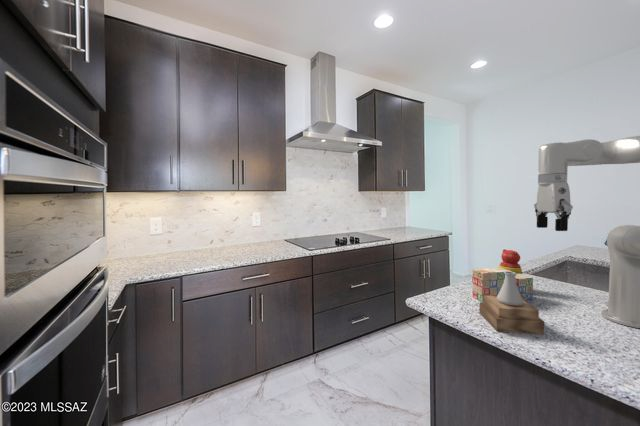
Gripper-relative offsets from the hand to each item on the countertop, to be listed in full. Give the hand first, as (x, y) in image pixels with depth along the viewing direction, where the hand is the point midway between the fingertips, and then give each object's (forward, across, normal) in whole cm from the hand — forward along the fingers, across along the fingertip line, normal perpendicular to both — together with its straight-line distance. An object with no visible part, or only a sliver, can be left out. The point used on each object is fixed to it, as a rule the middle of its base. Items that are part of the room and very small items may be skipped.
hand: (551, 229), depth 90 cm
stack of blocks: (+31, +14, +9) cm, 35 cm away
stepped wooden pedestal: (+30, -9, +17) cm, 36 cm away
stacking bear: (+31, +26, 0) cm, 40 cm away
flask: (+24, -9, +17) cm, 30 cm away
